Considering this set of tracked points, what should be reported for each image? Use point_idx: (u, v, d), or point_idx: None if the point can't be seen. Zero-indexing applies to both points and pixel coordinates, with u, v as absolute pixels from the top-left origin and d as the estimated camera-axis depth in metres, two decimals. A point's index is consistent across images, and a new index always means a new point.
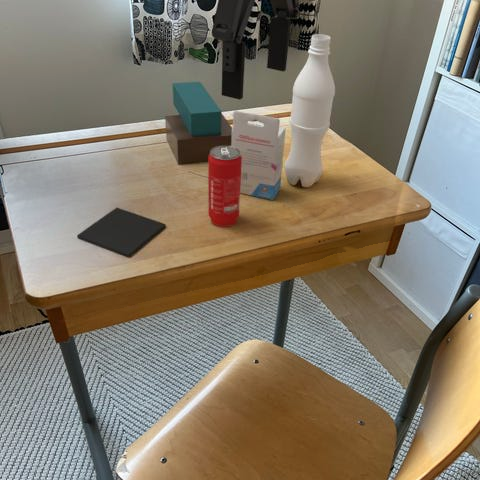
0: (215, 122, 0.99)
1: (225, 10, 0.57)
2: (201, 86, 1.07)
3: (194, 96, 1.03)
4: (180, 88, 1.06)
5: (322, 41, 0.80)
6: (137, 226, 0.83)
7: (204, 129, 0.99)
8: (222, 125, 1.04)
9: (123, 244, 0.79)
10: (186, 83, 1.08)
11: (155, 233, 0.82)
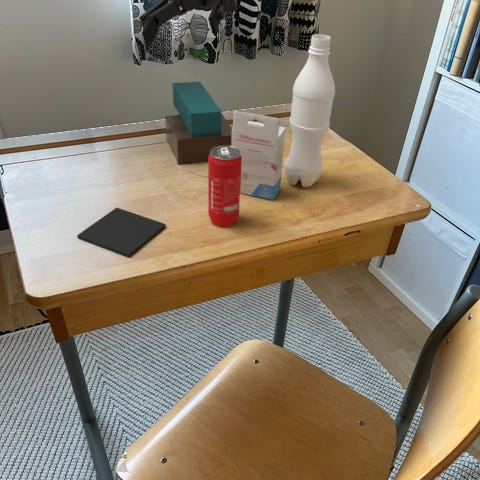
0: (215, 122, 0.99)
1: None
2: (201, 86, 1.07)
3: (194, 96, 1.03)
4: (180, 88, 1.06)
5: (322, 41, 0.80)
6: (137, 226, 0.83)
7: (204, 129, 0.99)
8: (222, 125, 1.04)
9: (123, 244, 0.79)
10: (186, 83, 1.08)
11: (155, 233, 0.82)
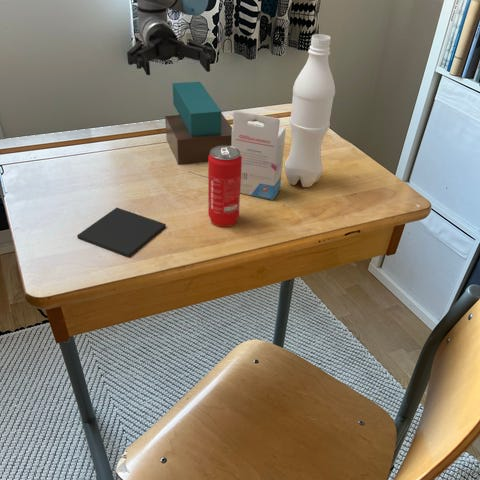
0: (215, 122, 0.99)
1: None
2: (201, 86, 1.07)
3: (194, 96, 1.03)
4: (180, 88, 1.06)
5: (322, 41, 0.80)
6: (137, 226, 0.83)
7: (204, 129, 0.99)
8: (222, 125, 1.04)
9: (123, 244, 0.79)
10: (186, 83, 1.08)
11: (155, 233, 0.82)
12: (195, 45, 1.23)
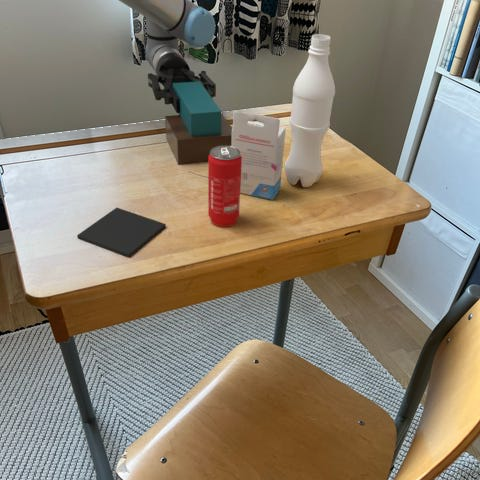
0: (215, 122, 0.99)
1: None
2: (201, 86, 1.07)
3: (194, 96, 1.03)
4: (180, 88, 1.06)
5: (322, 41, 0.80)
6: (137, 226, 0.83)
7: (204, 129, 0.99)
8: (222, 125, 1.04)
9: (123, 244, 0.79)
10: (186, 83, 1.08)
11: (155, 233, 0.82)
12: (203, 78, 1.15)
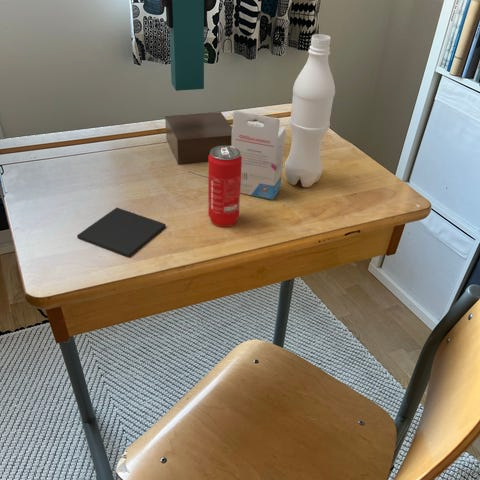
0: None
1: None
2: None
3: None
4: None
5: (322, 41, 0.80)
6: (137, 226, 0.83)
7: None
8: (222, 125, 1.04)
9: (123, 244, 0.79)
10: None
11: (155, 233, 0.82)
12: None
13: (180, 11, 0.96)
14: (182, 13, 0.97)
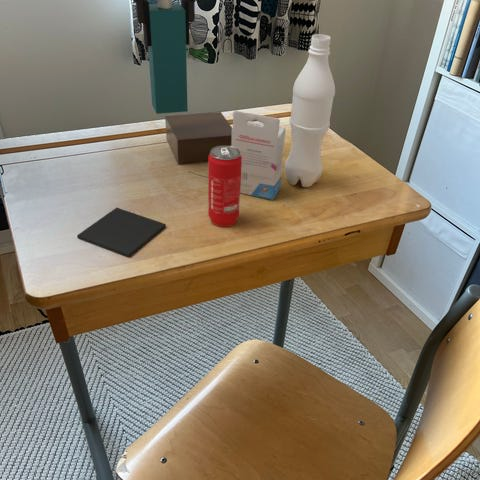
0: None
1: None
2: None
3: None
4: None
5: (322, 41, 0.80)
6: (137, 226, 0.83)
7: None
8: (222, 125, 1.04)
9: (123, 244, 0.79)
10: None
11: (155, 233, 0.82)
12: None
13: (159, 28, 0.87)
14: (161, 30, 0.87)
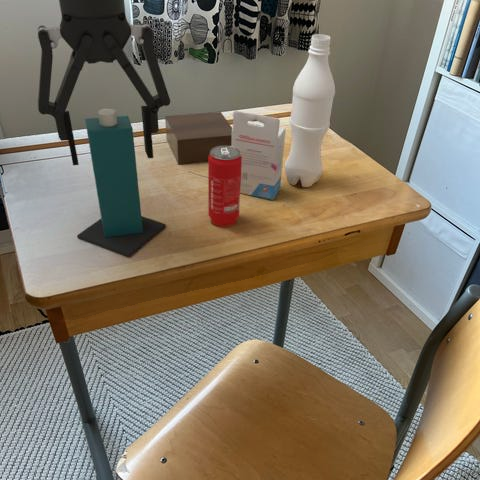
0: None
1: (39, 88, 0.65)
2: None
3: None
4: None
5: (322, 41, 0.80)
6: None
7: None
8: (222, 125, 1.04)
9: (123, 244, 0.79)
10: None
11: (155, 233, 0.82)
12: None
13: (101, 149, 0.71)
14: (104, 151, 0.71)
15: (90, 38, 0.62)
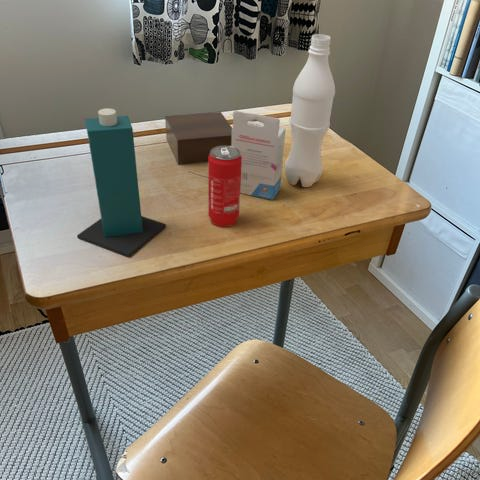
0: None
1: None
2: None
3: None
4: None
5: (322, 41, 0.80)
6: None
7: None
8: (222, 125, 1.04)
9: (123, 244, 0.79)
10: None
11: (155, 233, 0.82)
12: None
13: (101, 149, 0.71)
14: (104, 151, 0.71)
15: None
